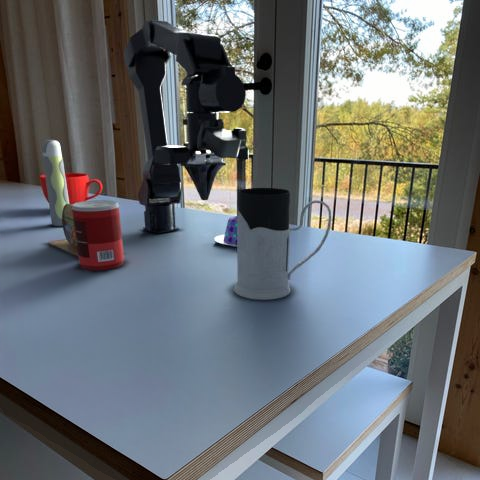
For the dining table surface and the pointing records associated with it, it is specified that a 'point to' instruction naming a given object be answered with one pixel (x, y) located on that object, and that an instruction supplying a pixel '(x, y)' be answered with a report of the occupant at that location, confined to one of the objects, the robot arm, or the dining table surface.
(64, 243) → the cork coaster
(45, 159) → the spray bottle
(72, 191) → the ceramic cup
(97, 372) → the dining table surface
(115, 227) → the canned food
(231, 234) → the pudding
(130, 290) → the dining table surface
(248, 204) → the glass holder
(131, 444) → the dining table surface
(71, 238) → the tin
